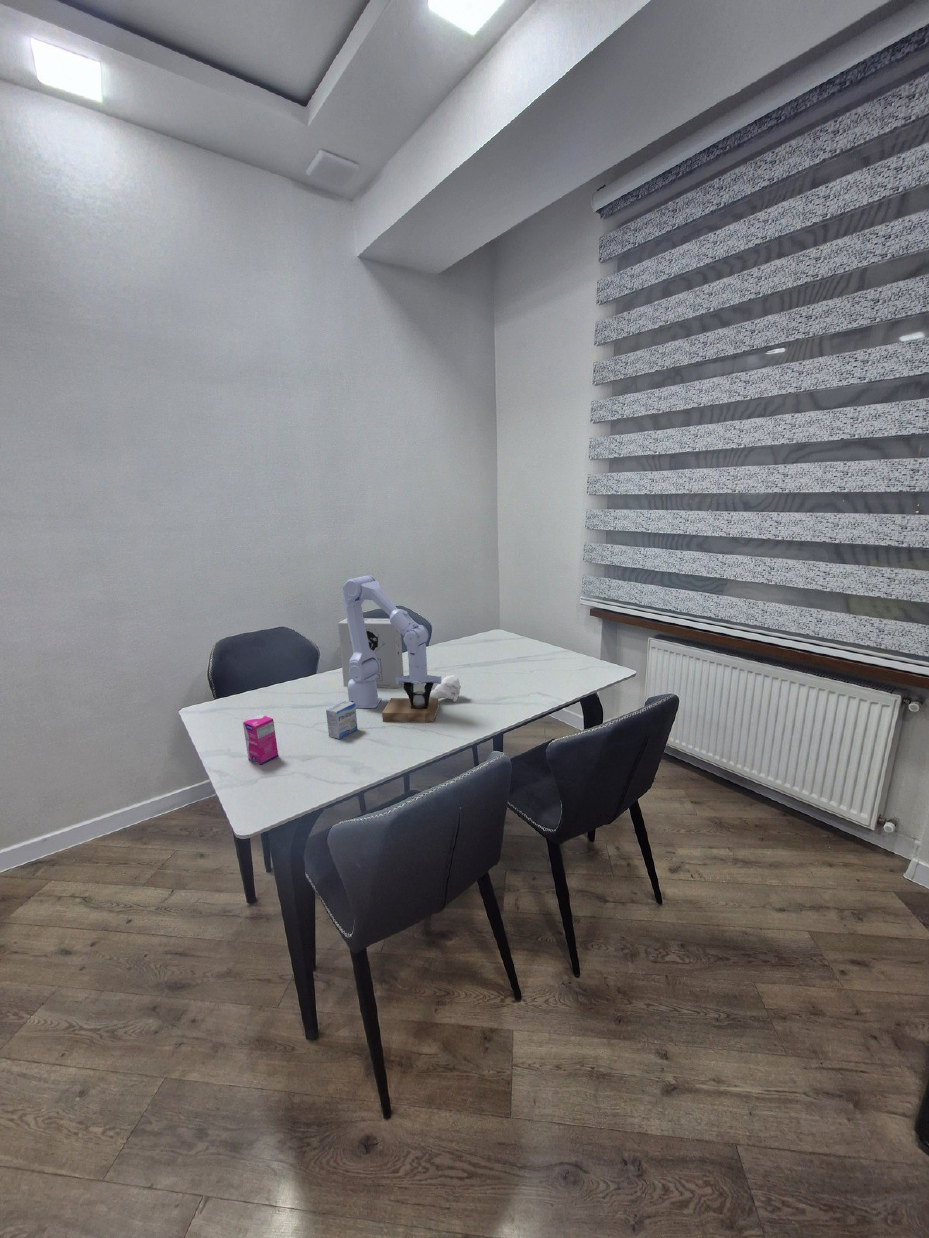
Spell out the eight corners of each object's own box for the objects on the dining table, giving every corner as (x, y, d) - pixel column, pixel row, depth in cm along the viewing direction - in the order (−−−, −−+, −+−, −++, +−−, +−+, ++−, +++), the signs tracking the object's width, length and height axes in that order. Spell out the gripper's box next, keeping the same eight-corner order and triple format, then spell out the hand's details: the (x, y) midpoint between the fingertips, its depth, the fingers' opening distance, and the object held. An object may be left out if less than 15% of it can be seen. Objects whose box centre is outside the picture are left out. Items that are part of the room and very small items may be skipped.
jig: (382, 721, 155) (382, 712, 154) (391, 706, 167) (391, 698, 166) (432, 722, 153) (432, 713, 153) (438, 706, 165) (438, 698, 164)
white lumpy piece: (461, 676, 168) (429, 686, 162) (464, 699, 170) (433, 710, 165) (452, 671, 173) (421, 681, 168) (455, 693, 175) (425, 703, 170)
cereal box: (404, 681, 190) (400, 618, 184) (398, 688, 183) (394, 623, 177) (351, 679, 194) (345, 617, 188) (343, 686, 187) (337, 622, 181)
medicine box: (339, 739, 144) (336, 712, 142) (328, 736, 146) (325, 709, 144) (358, 729, 150) (355, 702, 148) (347, 726, 153) (345, 700, 151)
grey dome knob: (411, 712, 158) (410, 695, 156) (416, 707, 162) (415, 690, 160) (424, 713, 156) (423, 696, 155) (428, 708, 160) (427, 691, 159)
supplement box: (247, 760, 134) (241, 721, 131) (266, 751, 139) (261, 713, 136) (260, 765, 131) (254, 726, 128) (279, 756, 135) (274, 717, 133)
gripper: (392, 668, 153) (395, 709, 156) (438, 668, 151) (440, 709, 154) (397, 661, 160) (400, 700, 163) (441, 661, 158) (443, 700, 161)
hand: (419, 704), depth 159 cm, fingers closed on grey dome knob, 4 cm apart
